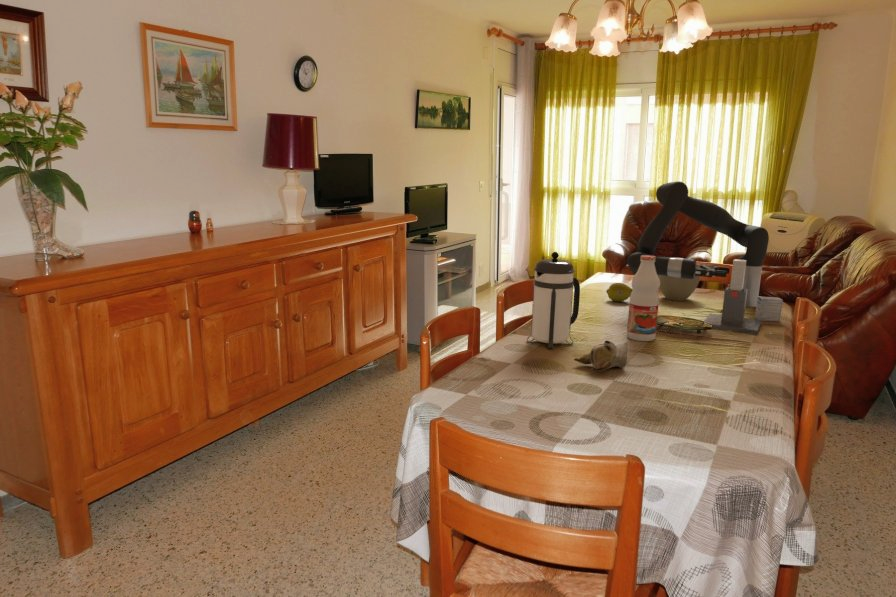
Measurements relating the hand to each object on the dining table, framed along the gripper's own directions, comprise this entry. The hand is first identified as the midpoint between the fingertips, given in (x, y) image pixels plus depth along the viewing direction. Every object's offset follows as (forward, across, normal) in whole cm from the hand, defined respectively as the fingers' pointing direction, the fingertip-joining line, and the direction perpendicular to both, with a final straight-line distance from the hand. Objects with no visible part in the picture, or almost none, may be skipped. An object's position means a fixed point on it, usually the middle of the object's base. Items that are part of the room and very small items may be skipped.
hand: (728, 272), depth 237 cm
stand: (+3, 0, +19) cm, 20 cm away
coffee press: (-45, -59, +19) cm, 76 cm away
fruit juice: (-21, -37, +20) cm, 47 cm away
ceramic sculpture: (-22, -76, +20) cm, 81 cm away
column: (+3, 0, +17) cm, 17 cm away
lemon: (-43, +16, +20) cm, 50 cm away
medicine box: (+14, +17, +20) cm, 30 cm away
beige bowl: (-23, +36, +20) cm, 47 cm away
